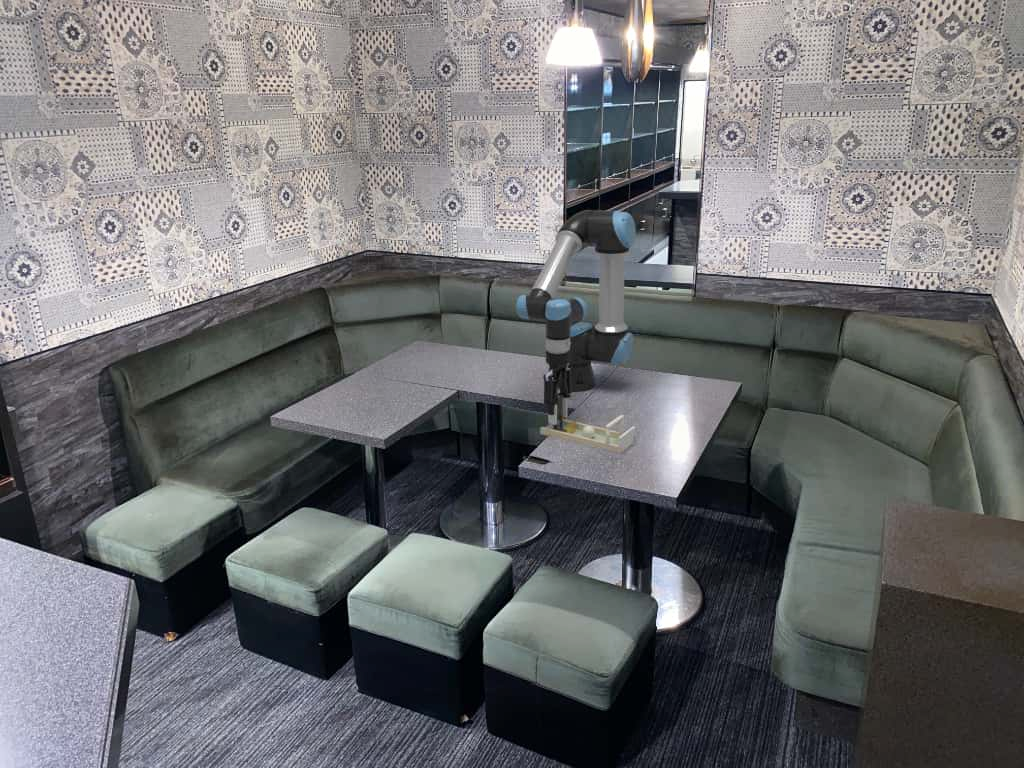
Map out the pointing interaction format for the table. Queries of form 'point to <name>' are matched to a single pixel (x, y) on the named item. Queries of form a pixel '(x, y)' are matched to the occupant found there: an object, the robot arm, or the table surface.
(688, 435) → the table surface
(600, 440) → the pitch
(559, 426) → the rod
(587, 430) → the ball
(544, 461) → the phone
